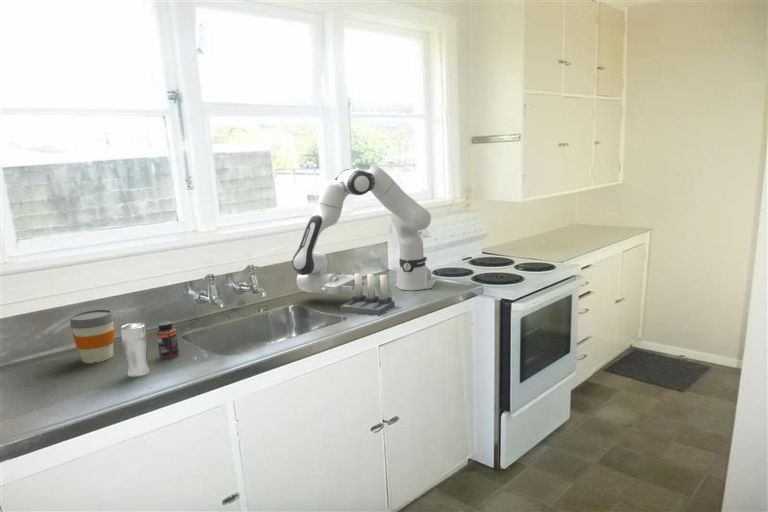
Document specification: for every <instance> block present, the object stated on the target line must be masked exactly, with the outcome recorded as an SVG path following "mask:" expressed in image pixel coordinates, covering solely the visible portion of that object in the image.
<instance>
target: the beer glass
mask: <svg viewBox="0 0 768 512" xmlns="http://www.w3.org/2000/svg"><path fill="white" fill-rule="evenodd" d="M120 337H121V338H120V339H121V346H122V349H123V353H124V356H125V358H126V360H127V365H128V366H127V367H128V368H127V369H128V370H127V376H128V377H129V378H139V377H144V376H146V375H148V374H149V373H150V372H151V369H150V366H149V362H148V348H149V347H148V346H149V345H148V343H149V341H148V333H147V328H146V324H145V323H144V322H131V323H127V324H124V325H122V326H121V327H120Z"/></svg>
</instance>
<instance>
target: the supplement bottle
mask: <svg viewBox="0 0 768 512" xmlns="http://www.w3.org/2000/svg"><path fill="white" fill-rule="evenodd" d="M156 338H157V344H158V353H159V358H160V359H162V360H163V359H164V360H166V359H173V358H176V357H177V356H179V354H180V353H179V352H180V350H179V344H178V336H177V330H176V328H175V327H173V323H172V321H163V322H159V324H158V330H157V331H156Z"/></svg>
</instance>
